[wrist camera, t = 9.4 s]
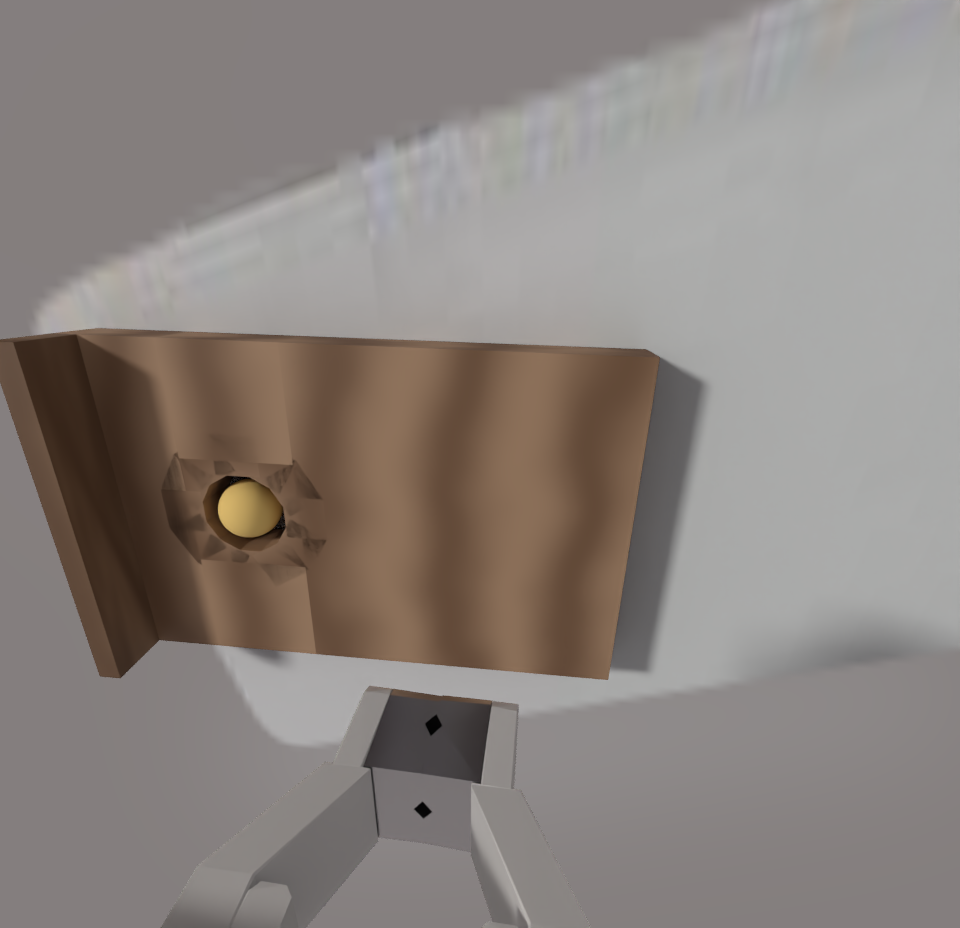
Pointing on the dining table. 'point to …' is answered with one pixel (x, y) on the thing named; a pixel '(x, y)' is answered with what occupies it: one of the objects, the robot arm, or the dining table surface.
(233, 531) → the ball
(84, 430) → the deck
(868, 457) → the dining table surface
